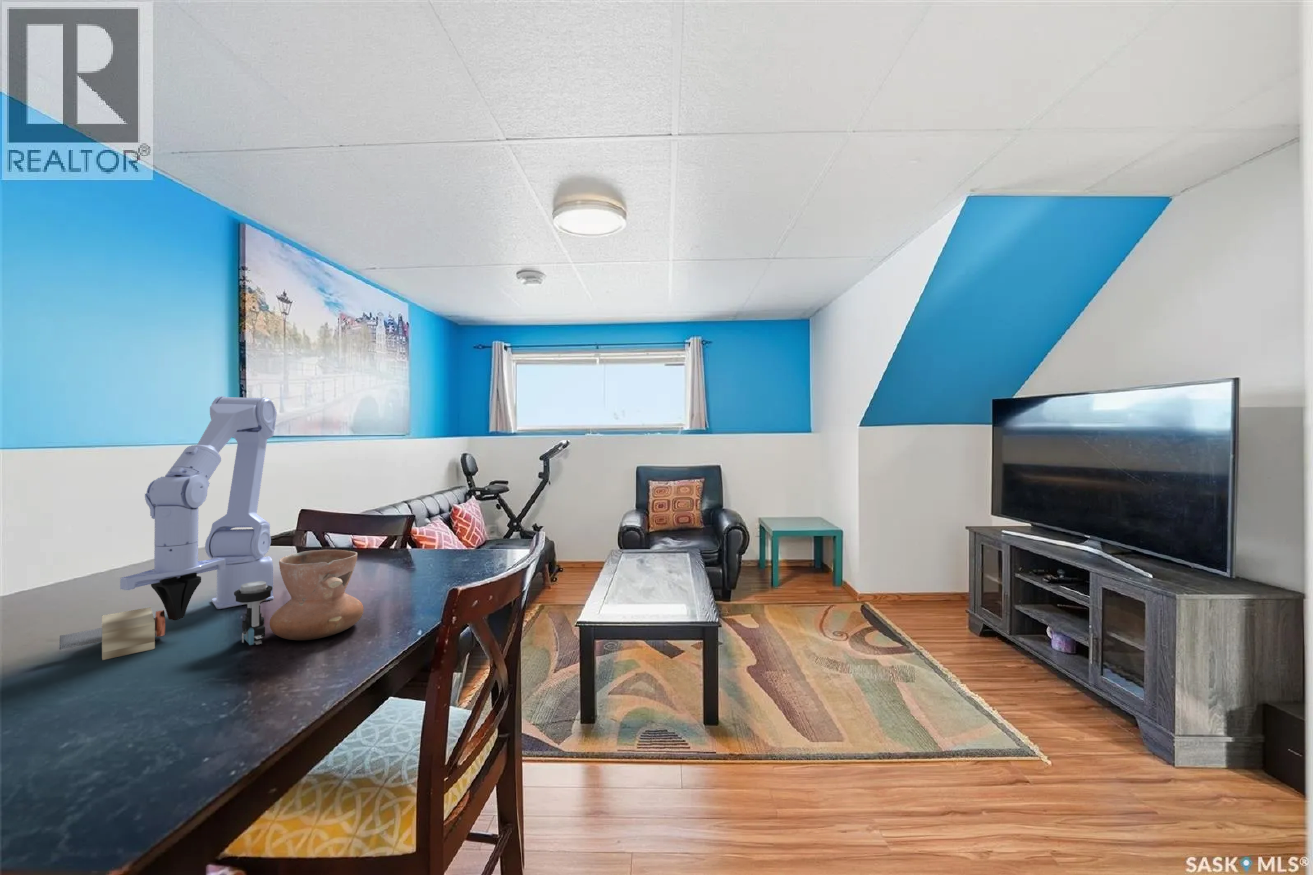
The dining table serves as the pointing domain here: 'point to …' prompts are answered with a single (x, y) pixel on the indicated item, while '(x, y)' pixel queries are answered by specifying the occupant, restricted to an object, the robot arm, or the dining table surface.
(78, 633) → the pin
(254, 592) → the push button
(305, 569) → the ceramic jug
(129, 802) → the dining table surface
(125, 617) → the hitch block
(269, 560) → the robot arm
